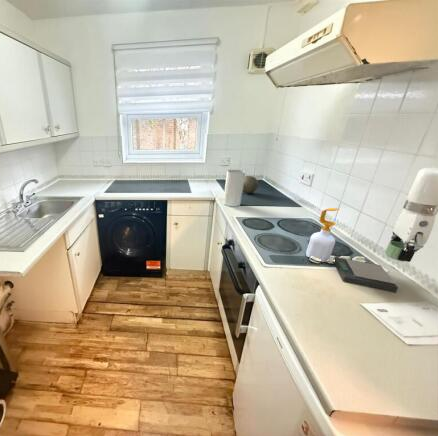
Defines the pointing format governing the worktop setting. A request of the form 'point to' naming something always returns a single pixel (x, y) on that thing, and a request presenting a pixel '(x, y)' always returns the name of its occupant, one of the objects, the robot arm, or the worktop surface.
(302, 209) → the worktop surface
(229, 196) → the cylinder vase
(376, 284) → the scale
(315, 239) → the soap bottle
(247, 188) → the cantaloupe
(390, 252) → the bowl
